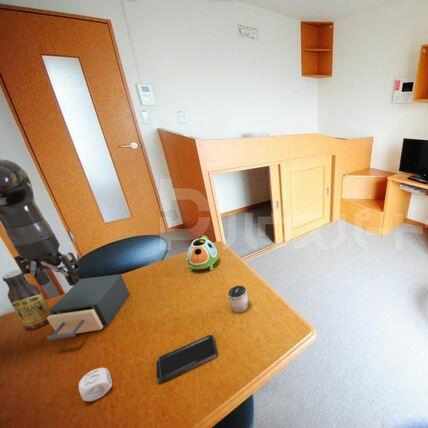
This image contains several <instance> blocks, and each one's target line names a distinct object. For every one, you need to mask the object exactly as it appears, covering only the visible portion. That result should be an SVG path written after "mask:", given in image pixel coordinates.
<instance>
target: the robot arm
mask: <svg viewBox="0 0 428 428" xmlns="http://www.w3.org/2000/svg"><path fill="white" fill-rule="evenodd" d="M0 225H1V226H2V228H3V231H4V233H5V235H6V237H7V239H8V241H9V242H10V243H11V246H13V249H14V250H15V251H16V253H17V255H16V256H14V257H13V259H14V261H15V263H16V264H17V266H18V268H19V270H21V271H22V273H23V274H24V275H28V274H29V276H31V277H33V278H34V280H36V282H37V283H38V285H39V286H46V285H48V283H50V282H51V279H50V278H49V276H48V275H47V273H46V270H52V271H53V272H55V273H60V274H61V275H62V276H64V278H65V280H66V282H67V283H68V285H69V286H70V287H73V286H74V285H75V284H77V283H78V282H79V280H80V278H79V276H78V275H77V272H79V271H80V270H82V267H81V265H80V263H79V261H78V259H77V258H76V257H75V255H74V252H68V253H66V254H62V253H61V252H60V251H59V248H60V246H61V244H60V242H59V240H58V238H57V237H56V234H55V232H54V231H53V228H52V227H51V225H50V224H49V222H48V221H47V219H45V217H44V215H43V214H42V211H41V210H40V207H39V206H38V204H37V203H36V201H35V195H34V190H33V186H32V182H31V179H30V176H29V175H28V173H27V172H26V170H25V169H24V168H23V167H22V166H21V165H19V164H18V163H16V162H14V161H12V160H8V159H3V158H2V159H0ZM61 264H62V265H61ZM44 270H45V271H44Z"/></svg>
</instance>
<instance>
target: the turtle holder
mask: <svg viewBox="0 0 428 428" xmlns="http://www.w3.org/2000/svg"><path fill="white" fill-rule="evenodd" d="M185 260H186V262H187V266H188V267H189V271H190V272H193V271H194V270H205V269H208V270H209V271H212V270H214V264H216V263H217V261H218V260H219V255H218V250H217V248H216V246H215V243H213V242H212V241H211V240H210V239H209V238H208V236H207V235H202V236H200V238H196V239H194V240H193V241H192V242H191V243H190V245H189V247H188V248H187V252H186V257H185Z"/></svg>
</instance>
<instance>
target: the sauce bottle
mask: <svg viewBox="0 0 428 428" xmlns="http://www.w3.org/2000/svg"><path fill="white" fill-rule="evenodd" d="M1 278H2V280H3V282H5V283H6V285H7V287H8V292H7V298H8V300H9V302H10V304H11V306H12V308H13V310H14V311H15V313H16V315H17V316H18V317H19V319H20V321H21V322H22V324H23V326H25V328H27V329H29V330H31V329H32V330H33V329H37V328H41V327H43V326H44V325H46V324H48V323H49V321H48V320H47V317H48V316H49V315H51V314H50V312H49V310H50V309H51V308H50V306H49V305H48V303H47V301H46V299H45V298H44V296H43V294H42V292H41V291H40V289H39V287H38V286H37V285H36V284H33V283H30V281H29V280H27V278H26V276H25V274H23V273H22V271H21V269H17V270H11V271H8V272H7V273H4V274H3V275H2V276H1Z"/></svg>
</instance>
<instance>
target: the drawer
mask: <svg viewBox="0 0 428 428" xmlns="http://www.w3.org/2000/svg"><path fill="white" fill-rule="evenodd" d="M47 320H48V321H49V322H48V323H49V324H50V326H51V327H52V329H53V333H52V334H51V335H48V336H47V337H46V341H48V342H51V341H57V340H62V339H63V340H64V339H70V338H74V337H76V334H81V333H87V332H95V331H100V330H101V331H102V329H103V328H104V326H103V325H102V323H103V320H102V318H101V316H100V314H99V312H98V311H97V309H96V307H95V306H93V307H86V308H79V309H72V310H64V311H57V314H55V315H49V316H48V317H47Z"/></svg>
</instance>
